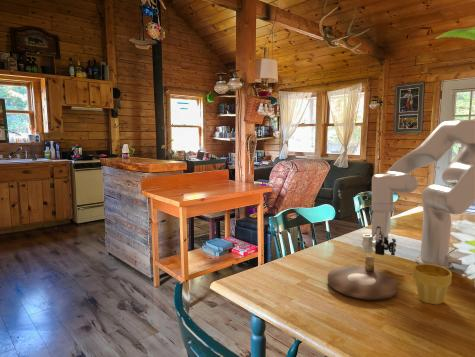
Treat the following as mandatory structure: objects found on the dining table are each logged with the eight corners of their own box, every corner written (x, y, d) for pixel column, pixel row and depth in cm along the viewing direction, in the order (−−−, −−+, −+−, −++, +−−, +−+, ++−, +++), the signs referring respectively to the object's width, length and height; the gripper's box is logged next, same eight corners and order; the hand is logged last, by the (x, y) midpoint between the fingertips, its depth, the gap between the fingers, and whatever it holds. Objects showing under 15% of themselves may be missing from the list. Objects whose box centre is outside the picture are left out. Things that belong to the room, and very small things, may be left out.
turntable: (403, 280, 115) (404, 262, 114) (387, 307, 98) (389, 285, 97) (340, 265, 128) (341, 249, 127) (317, 286, 111) (317, 267, 110)
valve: (360, 253, 131) (393, 258, 125) (360, 237, 130) (393, 241, 124) (364, 248, 137) (396, 252, 130) (364, 232, 136) (396, 236, 129)
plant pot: (407, 299, 104) (409, 270, 103) (416, 288, 112) (418, 260, 110) (445, 311, 97) (448, 279, 96) (452, 298, 105) (455, 269, 103)
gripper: (377, 201, 136) (377, 243, 139) (365, 210, 123) (365, 257, 125) (397, 202, 132) (397, 246, 134) (387, 212, 118) (386, 261, 121)
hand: (381, 251), depth 130 cm, fingers closed on valve, 5 cm apart
